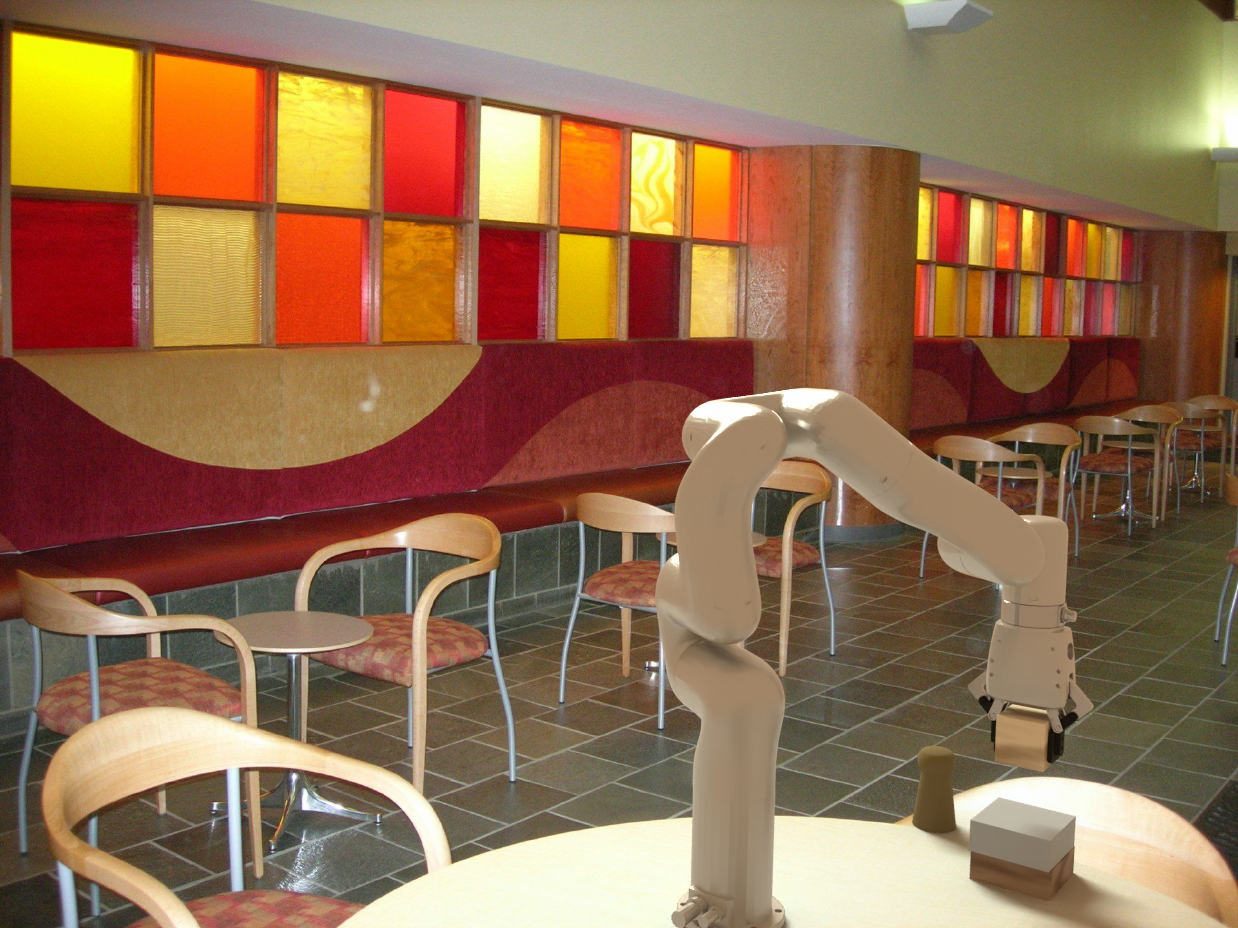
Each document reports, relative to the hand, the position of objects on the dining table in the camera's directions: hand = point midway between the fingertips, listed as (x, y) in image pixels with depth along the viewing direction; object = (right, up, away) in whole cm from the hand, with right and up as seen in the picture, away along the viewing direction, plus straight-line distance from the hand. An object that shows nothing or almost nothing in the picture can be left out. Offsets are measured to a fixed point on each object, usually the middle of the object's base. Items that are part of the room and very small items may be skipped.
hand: (1026, 753), depth 151 cm
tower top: (0, -12, +1) cm, 12 cm away
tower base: (0, -16, +1) cm, 16 cm away
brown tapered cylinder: (-7, -14, +18) cm, 24 cm away
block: (0, -1, 0) cm, 1 cm away
